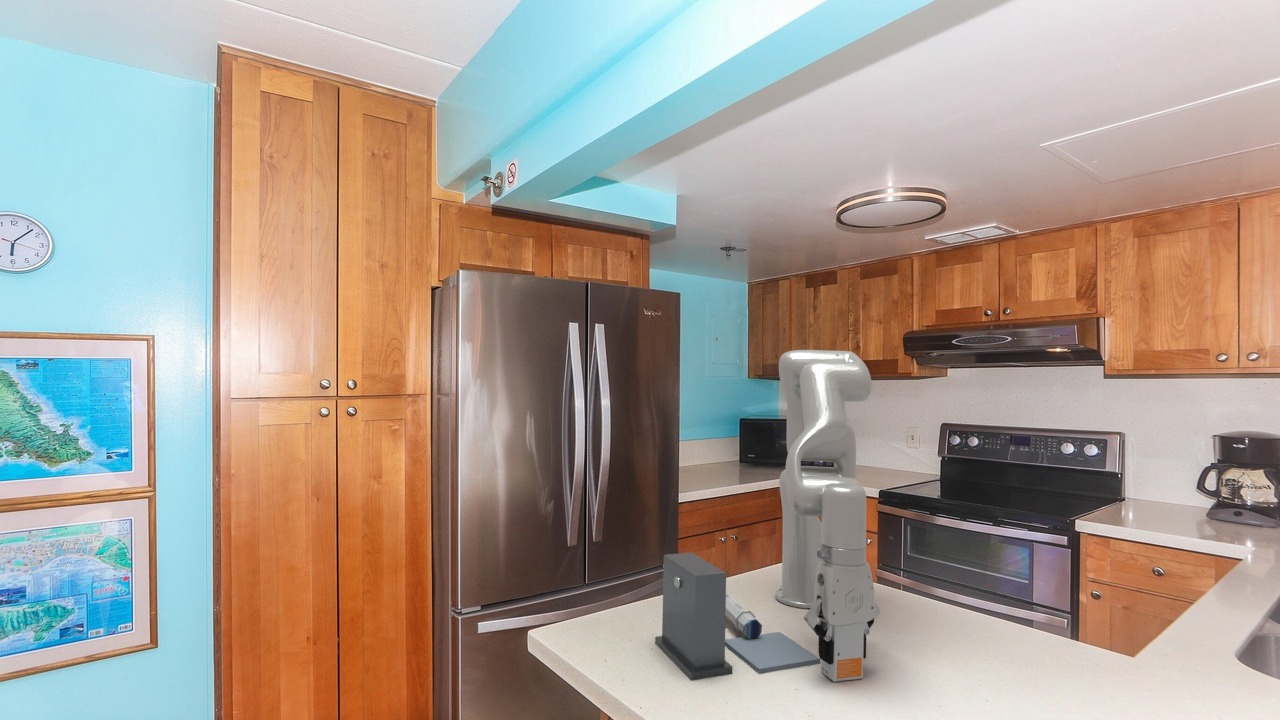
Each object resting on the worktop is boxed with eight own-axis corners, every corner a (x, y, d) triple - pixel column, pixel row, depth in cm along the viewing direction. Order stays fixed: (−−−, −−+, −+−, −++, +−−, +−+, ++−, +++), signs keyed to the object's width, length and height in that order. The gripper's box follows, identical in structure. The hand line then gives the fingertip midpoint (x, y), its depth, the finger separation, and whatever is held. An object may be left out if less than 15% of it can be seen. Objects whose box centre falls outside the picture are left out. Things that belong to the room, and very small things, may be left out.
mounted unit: (692, 637, 122) (693, 550, 123) (732, 673, 107) (734, 574, 108) (655, 643, 119) (657, 553, 120) (691, 680, 105) (693, 578, 105)
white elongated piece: (742, 620, 119) (692, 570, 143) (740, 653, 120) (690, 597, 143) (766, 617, 121) (712, 568, 145) (763, 650, 121) (711, 595, 145)
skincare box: (834, 683, 105) (834, 612, 105) (820, 671, 109) (821, 603, 109) (864, 679, 106) (865, 609, 107) (850, 668, 110) (850, 600, 111)
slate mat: (779, 635, 124) (779, 631, 124) (820, 663, 112) (820, 658, 112) (723, 644, 120) (723, 639, 120) (759, 673, 108) (759, 668, 108)
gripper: (816, 565, 102) (815, 675, 101) (897, 556, 108) (896, 660, 107) (789, 553, 109) (788, 656, 108) (867, 545, 115) (866, 643, 114)
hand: (842, 657), depth 108 cm, fingers closed on skincare box, 6 cm apart
